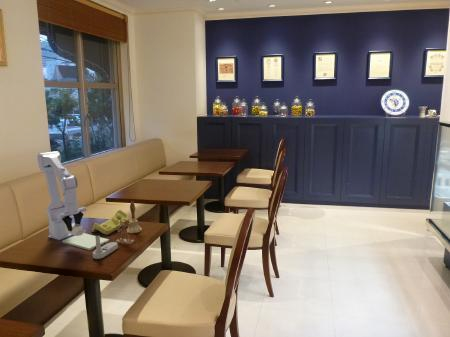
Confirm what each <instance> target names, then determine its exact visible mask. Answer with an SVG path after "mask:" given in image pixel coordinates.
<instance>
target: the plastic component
mask: <svg viewBox="0 0 450 337" xmlns="http://www.w3.org/2000/svg"><path fill="white" fill-rule="evenodd" d="M121 219H125V220H126V221H127V222H128V220H129V215H128V214H127V213H126V212H125V211H124V210H121V209H120V210H117V212H115V214H114V215H112V216H111V217H110V219H108V220H106V221H104V222H103V223H101V224H99V223H95V222H94V224H93V227H92V228H91V232H92V233H95V232H100V233H102V234H103V235H110V234H113V232H115V231H117V227H118V226H119V229H121V228H122V226H120V225H121V224H120V220H121ZM122 221H123V224H125V223H124V220H122ZM122 221H121V223H122Z"/></svg>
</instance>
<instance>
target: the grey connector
mask: <svg viewBox="0 0 450 337" xmlns="http://www.w3.org/2000/svg"><path fill="white" fill-rule="evenodd" d="M65 230H66V233H69V234H72V235H71V236H80V235H82V234H83V233H87V230H86V229H84V228H83V225H82V224H80V225H79V224H75V222H72V231H68V229H67V226H66V224H65Z"/></svg>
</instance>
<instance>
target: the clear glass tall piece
mask: <svg viewBox="0 0 450 337" xmlns="http://www.w3.org/2000/svg"><path fill="white" fill-rule="evenodd" d="M122 220H124V224H123V221H122ZM121 221H122V223H121ZM120 224H121V225H120V226H121V228H119V226H118V227H117V230H116V231H117V232H118V233H120V232H121V234H120V236H119V238H118V239H116V240H115V242H116V243H117V244H120V243H121V245H127V246H128V245H129V246H131V245H133V244H134V243H135V242H136V240H135V239H132V238H131V237H130V235H129V233H127V230H129V229H130V228H131V224H130V223H128V220H127V221H126V220H125V219H121V220H120ZM128 227H130V228H129V229H128ZM123 234H124V235H123ZM122 235H123V237H122Z"/></svg>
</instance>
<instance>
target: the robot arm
mask: <svg viewBox="0 0 450 337" xmlns="http://www.w3.org/2000/svg"><path fill="white" fill-rule="evenodd" d="M36 158H37V165H38V168H39V170H40V171H43V173H44V176H45V177H44V178H45V182H46V184H47V185H46V186H47V189H48V195H49V199H50V203H49V204H48V205H47V206H46V216H47V219H48V221H49V222H48V232H49V235H48V238H50V239H51V238H52V239H54V240H57V241H60V240H64V239H65V238H66V239H67V238H70V237H72V236H73V235H72V234H69V233H66V230H65V224H66V226H67V229H68V231H72V223H73V220H74V223H75V224H79V225H81V223H82V219H83V216H84V213H83V212H87V207H86V206H79V203H78V195H77V188H78V179H77V177H76V176H75V175H73V174H71V173H70V171H69V169H67V167H64V166H63V164H62V163H61V161H62V155H61V153H60V152H59V151H58V150H56V151H50V152H39V153H38V154H37V157H36ZM58 182H59V185H60V188H61V193H62V195H63V200H62V198H61V193H60V189H59V185H58ZM71 216H73V217H71Z"/></svg>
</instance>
